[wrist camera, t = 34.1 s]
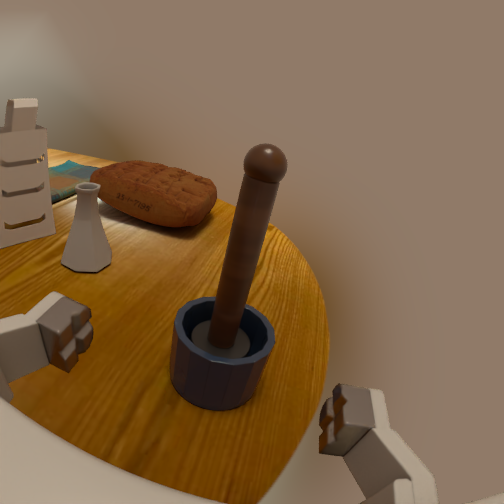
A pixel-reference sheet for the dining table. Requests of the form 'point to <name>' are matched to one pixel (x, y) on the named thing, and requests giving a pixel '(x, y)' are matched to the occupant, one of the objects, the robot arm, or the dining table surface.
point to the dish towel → (67, 179)
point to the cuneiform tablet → (156, 192)
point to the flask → (87, 233)
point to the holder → (218, 359)
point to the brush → (242, 254)
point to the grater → (24, 175)
